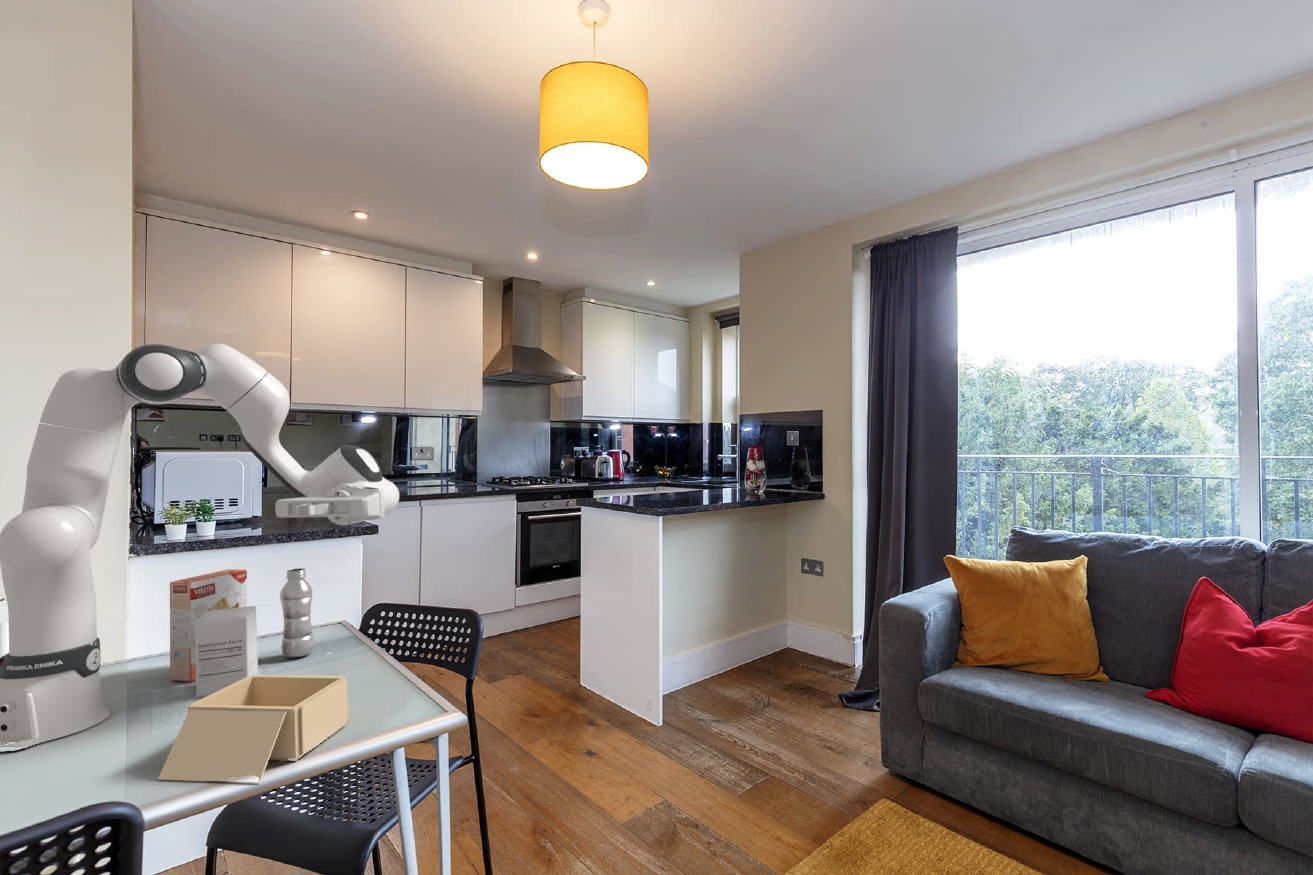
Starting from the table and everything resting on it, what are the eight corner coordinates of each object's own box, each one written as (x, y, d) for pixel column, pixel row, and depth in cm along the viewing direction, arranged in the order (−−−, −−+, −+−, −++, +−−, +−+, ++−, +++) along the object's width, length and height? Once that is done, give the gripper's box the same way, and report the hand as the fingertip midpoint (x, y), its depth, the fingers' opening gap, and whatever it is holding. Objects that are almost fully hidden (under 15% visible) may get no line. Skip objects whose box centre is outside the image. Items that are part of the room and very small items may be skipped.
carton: (185, 757, 95) (184, 706, 96) (252, 719, 109) (251, 673, 109) (298, 761, 93) (297, 708, 93) (352, 721, 107) (351, 675, 107)
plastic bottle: (306, 660, 139) (304, 571, 140) (275, 661, 139) (273, 573, 139) (319, 650, 146) (317, 566, 146) (290, 652, 145) (288, 567, 145)
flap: (191, 709, 95) (159, 779, 89) (189, 709, 95) (157, 779, 89) (286, 711, 93) (259, 783, 87) (285, 711, 93) (258, 783, 87)
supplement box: (208, 682, 127) (206, 610, 128) (259, 675, 131) (257, 604, 131) (194, 698, 119) (192, 621, 119) (248, 690, 122) (246, 615, 123)
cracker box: (192, 683, 127) (190, 582, 127) (168, 681, 128) (166, 581, 129) (250, 659, 141) (248, 568, 141) (228, 658, 142) (226, 568, 142)
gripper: (302, 490, 134) (253, 495, 120) (390, 488, 131) (350, 493, 118) (302, 519, 134) (253, 527, 120) (391, 517, 131) (351, 526, 117)
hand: (302, 510), depth 119 cm, fingers closed
